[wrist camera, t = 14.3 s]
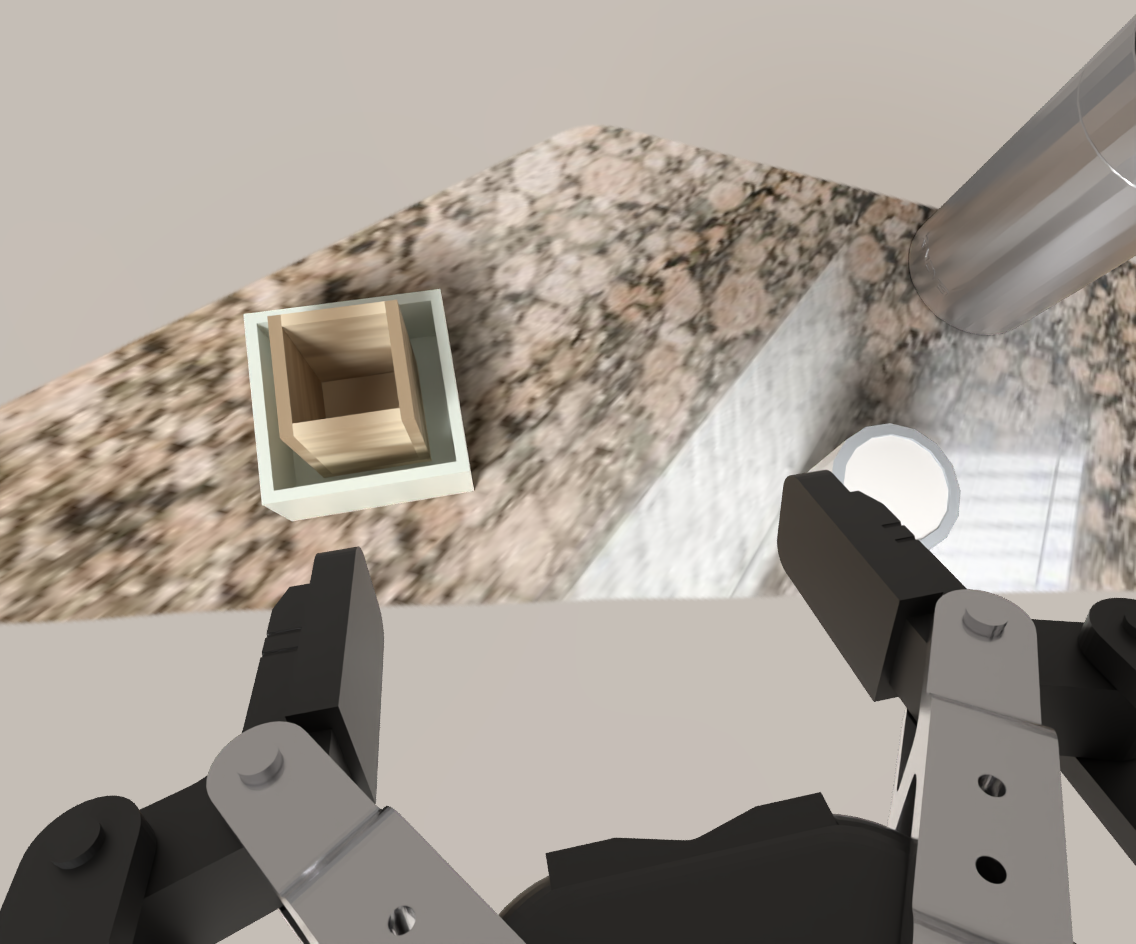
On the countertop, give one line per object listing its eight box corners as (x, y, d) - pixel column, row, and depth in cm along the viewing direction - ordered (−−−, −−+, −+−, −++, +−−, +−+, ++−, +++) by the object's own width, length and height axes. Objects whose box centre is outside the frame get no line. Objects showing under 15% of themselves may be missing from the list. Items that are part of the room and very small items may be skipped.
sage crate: (447, 328, 43) (440, 288, 38) (474, 490, 40) (470, 470, 36) (273, 352, 41) (243, 314, 36) (292, 521, 39) (262, 504, 34)
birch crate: (417, 363, 41) (397, 299, 34) (431, 460, 40) (414, 418, 32) (312, 378, 41) (267, 316, 33) (323, 477, 39) (280, 438, 32)
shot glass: (799, 438, 43) (855, 401, 36) (902, 484, 43) (977, 455, 36) (762, 540, 41) (813, 520, 35) (869, 588, 41) (941, 578, 34)
